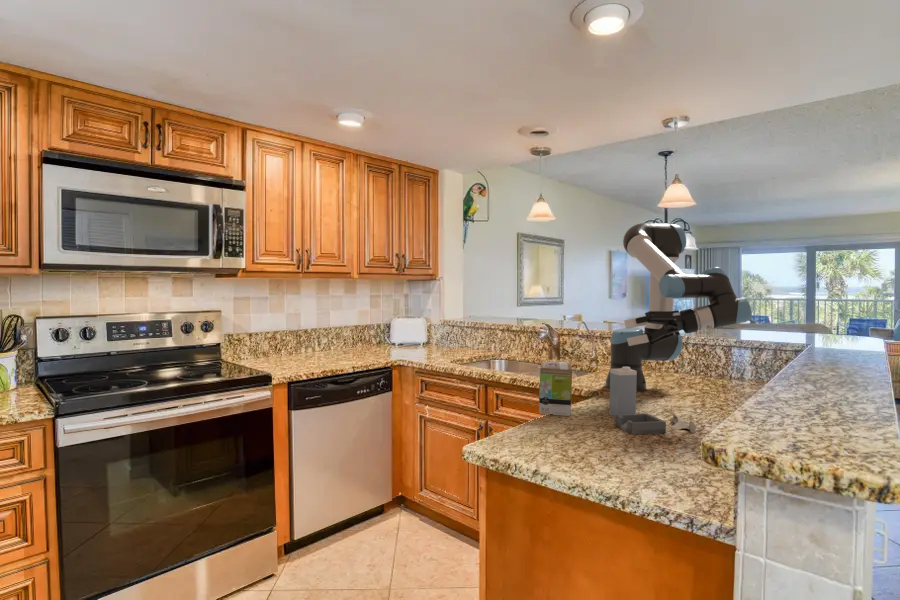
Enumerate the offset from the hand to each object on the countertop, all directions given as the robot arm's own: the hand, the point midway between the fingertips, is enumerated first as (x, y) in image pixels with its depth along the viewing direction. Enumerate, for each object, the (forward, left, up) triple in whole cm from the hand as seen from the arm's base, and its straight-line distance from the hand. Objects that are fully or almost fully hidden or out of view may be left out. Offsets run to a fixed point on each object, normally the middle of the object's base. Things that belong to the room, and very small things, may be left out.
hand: (626, 333), depth 161 cm
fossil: (+24, +4, -25) cm, 35 cm away
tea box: (0, -25, -25) cm, 35 cm away
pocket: (+24, -10, -24) cm, 35 cm away
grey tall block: (+10, -7, -24) cm, 27 cm away
